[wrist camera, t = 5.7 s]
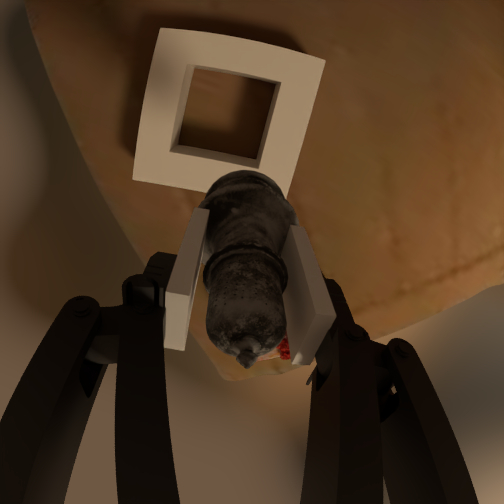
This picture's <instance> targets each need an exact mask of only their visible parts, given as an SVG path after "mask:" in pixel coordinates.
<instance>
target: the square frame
mask: <svg viewBox="0 0 504 504" xmlns="http://www.w3.org/2000/svg"><path fill="white" fill-rule="evenodd" d="M324 65H325V60H322V59H319V58H316V57H313V56H310V55H307V54H304V53H300V52H297V51H293V50H290V49H286V48H282V47H279V46H275V45H271V44H266V43H262V42H258V41H253V40H248V39H243V38H238V37H233V36H227V35H221V34H215V33H208V32H200V31H192V30H182V29H171V28H160V31H159V35H158V39H157V42H156V46H155V50H154V54H153V59H152V63H151V67H150V72H149V76H148V81H147V86H146V91H145V96H144V101H143V107H142V113H141V119H140V125H139V131H138V138H137V146H136V153H135V161H134V170H133V180H138V181H144V182H150V183H156V184H162V185H168V186H173V187H179V188H185V189H190V190H195V191H201V192H206V193H207V192H208V190H209V189H210V187H211V186H212V184H213V183H214V182H215V181H217V180H218V179H219V178H220V177H221V176H224V175H226V174H228V173H230V172H233V171H239V170H252V171H256V172H259V173H262V174H265V175H266V176H268V177H269V178H271V179H272V180H274V181H275V182H276V184H277V185H278V186H279V187H280V188H281V190H282V193H283V195H284V197H285V199H286V197H287V194H288V191H289V187H290V184H291V180H292V177H293V174H294V170H295V167H296V163H297V160H298V157H299V153H300V150H301V146H302V143H303V139H304V136H305V132H306V129H307V125H308V122H309V118H310V115H311V111H312V108H313V104H314V101H315V97H316V93H317V90H318V86H319V83H320V79H321V76H322V72H323V68H324ZM194 68H199V69H205V70H211V71H217V72H223V73H228V74H234V75H239V76H244V77H248V78H253V79H257V80H262V81H266V82H270V83H274V84H276V86H275V90H274V94H273V97H272V101H271V105H270V109H269V112H268V116H267V120H266V124H265V128H264V132H263V135H262V139H261V143H260V147H259V151H258V155H257V159H256V160H255V159H251V158H246V157H242V156H237V155H232V154H227V153H222V152H217V151H212V150H207V149H201V148H196V147H190V146H184V145H178V142H179V136H180V131H181V126H182V121H183V116H184V111H185V106H186V101H187V97H188V92H189V88H190V83H191V79H192V75H193V71H194Z"/></svg>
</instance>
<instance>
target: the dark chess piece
mask: <svg viewBox="0 0 504 504" xmlns="http://www.w3.org/2000/svg"><path fill="white" fill-rule="evenodd" d="M198 208H202V209H208V210H210V211H209V217H208V223H207V229H206V235H205V242H204V248H203V255H202V260H201V262H202V263H203V264H204V265H205V268H204V271H203V283H204V285H205V288H206V291H207V292H208V293H209V300H208V307H207V315H206V330H207V334H208V336H209V339H210V340H211V341H212V342H213V344H214V345H215V346H216V347H217V348H218V349H219V350H221V351H222V352H224V353H226V354H228V355H231V356H235V357H236V360H237V361H238V362H239V363H240V364H241V365H242V366H244V368H246V369H248V368H250V367H251V366H252V365H253V364H254V363H255V362H256V361H257V359H258V357H259V356H262V355H265V354H267V353H269V352H271V351H272V350H274V349H275V348H276V347H277V346H278V345H279V344H280V343H281V341H282V340H283V338H284V337H285V333H286V327H287V321H286V314H285V308H284V302H283V296H282V294H283V293H284V291H285V289H286V287H287V283H288V271H287V267H286V265H285V263H284V261H283V259H282V258H281V254H282V250H283V247H284V244H285V241H286V237H287V234H288V231H289V228H290V225H295V226H299V220H298V218H297V216H296V213H295V211H294V209H293V207H292V206H291V205H290V204H289V202H288V201H287V200H286V199H285V197H284V195H283V193H282V190H281V188H280V187H279V186H278V185H277V184H276V182H275V181H274V180H272V179H271V178H269V177H268V176H266V175H265V174H262V173H259V172H256V171H252V170H239V171H233V172H230V173H228V174H226V175H224V176H221V177H220V178H219V179H218V180H217V181H215V182H214V183H213V184H212V186H211V187H210V189H209V190H208V192H207V194H206V197H205V199H204V200H203V201H202V202H201V204H200V205H199V207H198Z"/></svg>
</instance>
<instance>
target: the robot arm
mask: <svg viewBox="0 0 504 504" xmlns="http://www.w3.org/2000/svg"><path fill="white" fill-rule="evenodd" d="M209 211H210V210H208V209H202V208H196V207H195V208H194V210H193V213H192V216H191V218H190V221H189V224H188V227H187V230H186V232H185V235H184V238H183V241H182V244H181V247H180V250H179V252H178V255H175V254H169V253H164V252H157V253H155V254H154V255H153V256H151V257H150V259H149V261H148V263H147V266H146V268H145V270H144V273H143V274H136V275H133V276H130V277H128V278H127V279H126V280H125V281H124V282H123V284H122V296H123V304H122V305H119V306H114V307H100V306H99V303H98V302H97V301H96V300H95V299H94V298H91V297H89V296H77V297H74V298H72V299H70V300H68V302H66V304H65V305H64V306H63V308H62V309H61V311H60V312H59V314H58V316H57V317H56V319H55V320H54V322H53V323H52V325H51V326H50V328H49V330H48V331H47V333H46V335H45V336H44V338H43V340H42V342H41V343H40V345H39V346H38V348H37V350H36V352H35V354H34V355H33V357H32V359H31V361H30V362H29V364H28V366H27V368H26V370H25V372H24V373H23V375H22V377H21V379H20V381H19V383H18V385H17V387H16V389H15V391H14V393H13V395H12V397H11V399H10V401H9V403H8V405H7V408H6V410H5V412H4V414H3V416H2V419H1V421H0V504H64V501H65V496H66V492H67V488H68V485H69V481H70V477H71V473H72V470H73V466H74V463H75V459H76V456H77V453H78V449H79V446H80V443H81V439H82V436H83V433H84V430H85V427H86V424H87V421H88V418H89V415H90V412H91V409H92V407H93V404H94V401H95V398H96V396H97V392H98V390H99V387H100V385H101V382H102V379H103V377H104V374H105V372H106V369H107V367H108V364H113V363H117V376H116V394H115V395H116V396H115V462H116V482H117V495H118V504H180V500H179V494H178V488H177V481H176V475H175V468H174V461H173V453H172V445H171V438H170V428H169V417H168V406H167V394H166V380H165V363H164V347H165V348H171V349H177V350H182V351H184V349H185V343H186V337H187V332H188V326H189V321H190V315H191V310H192V305H193V300H194V295H195V289H196V284H197V279H198V275H199V270H200V265H201V260H202V255H203V248H204V242H205V235H206V229H207V223H208V217H209ZM281 258H282V259H283V261H284V263H285V265H286V267H287V271H288V283H287V287H286V289H285V291H284V293H283V294H282V296H283V302H284V308H285V314H286V321H287V327H286V329H287V336H288V342H289V349H290V356H291V363H292V364H299V365H310V364H311V362H312V361H313V359H314V357H315V358H316V362H317V365H316V367H315V369H314V370H313V372H312V374H311V375H310V377H309V379H308V380H307V383H306V385H309V384H310V382H311V380H312V391H311V405H310V418H309V430H308V441H307V452H306V460H305V469H304V478H303V486H302V494H301V501H300V504H383V476H384V480H385V484H386V488H387V492H388V496H389V500H390V504H479V503H478V500H477V496H476V493H475V490H474V487H473V484H472V481H471V478H470V475H469V472H468V469H467V466H466V464H465V461H464V458H463V456H462V453H461V450H460V448H459V445H458V442H457V440H456V438H455V435H454V432H453V430H452V428H451V425H450V423H449V421H448V418H447V416H446V414H445V411H444V409H443V407H442V405H441V402H440V400H439V398H438V396H437V394H436V392H435V389H434V387H433V385H432V383H431V381H430V379H429V377H428V375H427V373H426V371H425V368H424V366H423V364H422V363H421V361H420V358H419V357H418V355H417V353H416V351H415V349H414V348H413V346H412V345H411V344H410V343H408V342H407V341H405V340H403V339H400V338H394V339H391V340H390V341H389V343H388V344H387V345H384V344H381V343H378V342H375V341H372V340H370V337H369V335H368V333H367V332H366V330H365V329H364V328H362V327H361V326H359V325H357V324H355V322H354V319H353V317H352V314H351V312H350V309H349V307H348V304H347V303H346V299H345V297H344V294H343V292H342V289H341V287H340V286H339V285H338V284H337V283H336V282H335V280H333V279H326V278H323V276H322V273H321V270H320V268H319V265H318V262H317V259H316V257H315V254H314V251H313V249H312V246H311V243H310V241H309V238H308V236H307V233H306V230H305V228H304V227H300V226H295V225H290V228H289V231H288V234H287V237H286V241H285V244H284V247H283V250H282V254H281ZM393 386H395V388H396V391H397V392H396V393H395V394H394V393H393V392H392V390H391V388H392V387H393Z"/></svg>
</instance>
